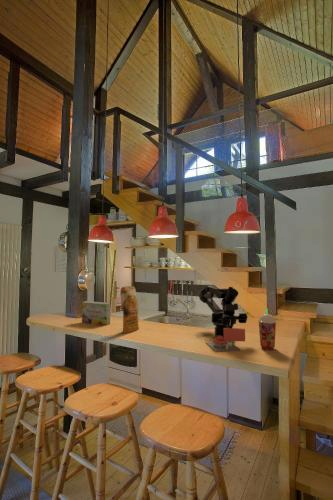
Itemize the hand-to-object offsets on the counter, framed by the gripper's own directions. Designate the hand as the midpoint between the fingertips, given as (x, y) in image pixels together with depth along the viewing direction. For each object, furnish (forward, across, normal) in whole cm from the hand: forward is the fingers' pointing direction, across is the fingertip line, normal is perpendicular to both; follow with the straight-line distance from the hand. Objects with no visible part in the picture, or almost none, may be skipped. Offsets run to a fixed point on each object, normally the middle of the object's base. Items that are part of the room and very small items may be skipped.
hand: (230, 331), depth 143 cm
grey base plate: (+7, -5, +3) cm, 9 cm away
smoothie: (+8, +18, +3) cm, 19 cm away
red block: (+6, -2, +1) cm, 6 cm away
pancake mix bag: (-14, -59, +25) cm, 65 cm away
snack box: (-28, -87, +38) cm, 99 cm away
